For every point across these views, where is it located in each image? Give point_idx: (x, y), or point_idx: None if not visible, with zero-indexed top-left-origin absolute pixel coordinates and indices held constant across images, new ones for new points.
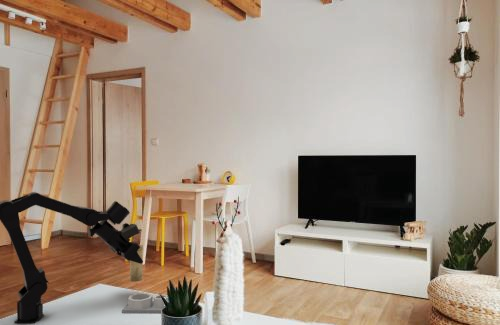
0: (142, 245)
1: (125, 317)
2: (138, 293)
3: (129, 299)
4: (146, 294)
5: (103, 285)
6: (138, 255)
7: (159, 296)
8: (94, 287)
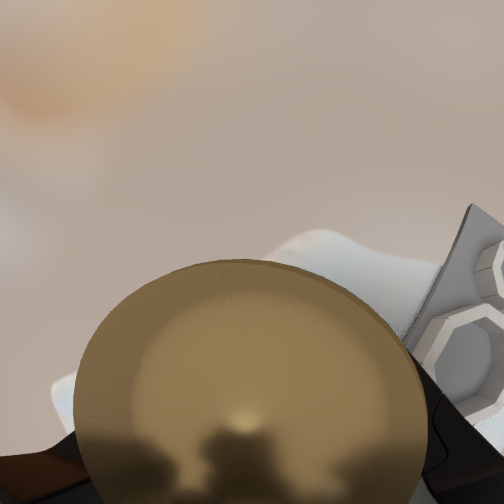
0: (276, 267)
1: (493, 428)
2: (423, 367)
3: (473, 423)
4: (453, 327)
5: (57, 387)
6: (445, 406)
7: (498, 271)
8: (65, 423)
